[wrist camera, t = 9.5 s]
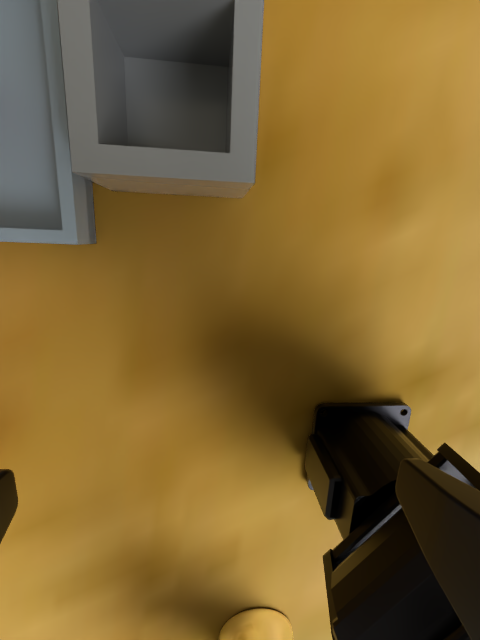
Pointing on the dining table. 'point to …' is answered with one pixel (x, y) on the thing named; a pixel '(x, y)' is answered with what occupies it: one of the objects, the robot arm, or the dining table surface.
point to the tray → (37, 133)
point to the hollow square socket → (163, 93)
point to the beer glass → (257, 626)
